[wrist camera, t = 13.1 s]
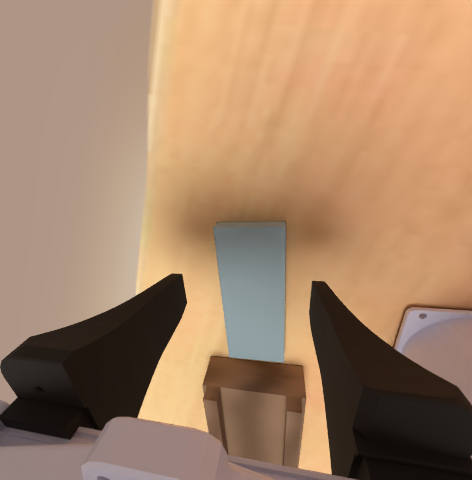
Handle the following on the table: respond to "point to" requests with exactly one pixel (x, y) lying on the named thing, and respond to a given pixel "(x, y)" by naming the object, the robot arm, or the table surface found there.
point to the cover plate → (253, 287)
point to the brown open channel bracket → (256, 409)
